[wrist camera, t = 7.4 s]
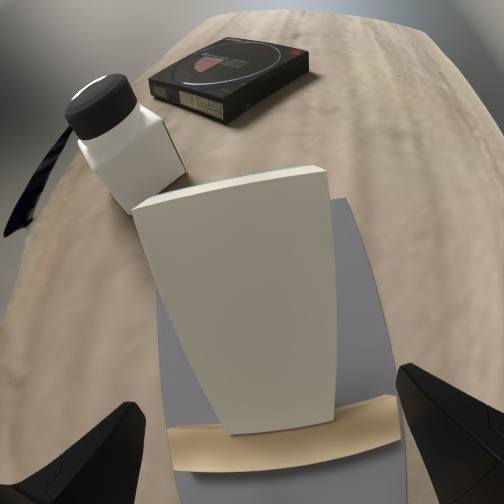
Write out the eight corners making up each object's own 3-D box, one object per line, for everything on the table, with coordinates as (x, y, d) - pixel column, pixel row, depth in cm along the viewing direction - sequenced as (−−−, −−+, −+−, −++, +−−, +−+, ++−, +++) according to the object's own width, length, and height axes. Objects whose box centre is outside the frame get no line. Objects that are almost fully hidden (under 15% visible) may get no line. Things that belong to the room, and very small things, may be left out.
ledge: (390, 433, 13) (401, 438, 11) (184, 462, 14) (173, 470, 12) (385, 394, 15) (396, 395, 13) (178, 424, 15) (166, 429, 14)
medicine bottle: (187, 172, 26) (142, 70, 15) (131, 218, 24) (60, 128, 14) (156, 145, 29) (115, 61, 18) (108, 183, 27) (52, 107, 17)
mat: (403, 506, 10) (406, 508, 10) (191, 534, 11) (189, 536, 11) (344, 201, 22) (345, 197, 21) (160, 234, 23) (158, 231, 22)
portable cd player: (153, 100, 35) (144, 80, 32) (231, 55, 39) (227, 37, 36) (225, 128, 29) (218, 101, 25) (309, 73, 33) (308, 51, 30)
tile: (333, 420, 13) (326, 171, 7) (227, 434, 13) (130, 210, 8) (326, 394, 14) (311, 164, 9) (229, 408, 15) (151, 196, 10)
